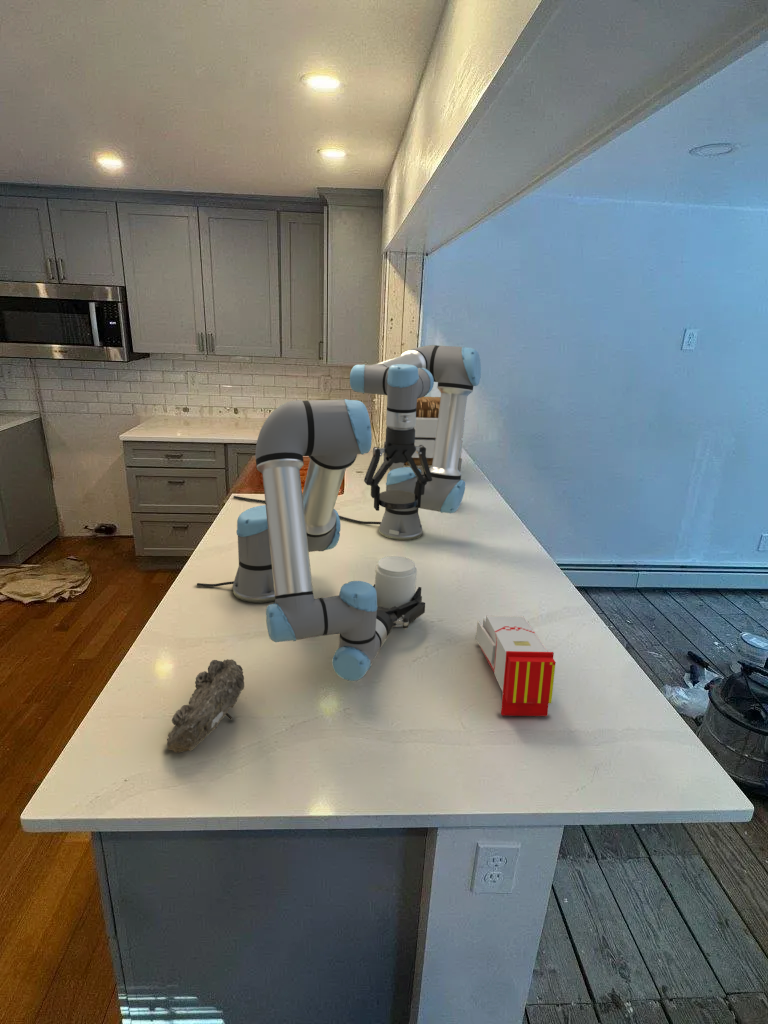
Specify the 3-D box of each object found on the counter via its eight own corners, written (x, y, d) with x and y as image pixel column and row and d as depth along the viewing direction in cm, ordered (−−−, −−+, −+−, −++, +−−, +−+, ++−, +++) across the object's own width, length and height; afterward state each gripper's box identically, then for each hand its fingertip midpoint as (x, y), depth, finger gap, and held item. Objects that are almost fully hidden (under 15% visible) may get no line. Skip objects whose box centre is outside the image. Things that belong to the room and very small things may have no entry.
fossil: (192, 660, 117) (244, 628, 112) (224, 691, 120) (276, 661, 115) (142, 746, 98) (202, 712, 93) (182, 779, 101) (242, 748, 96)
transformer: (382, 463, 289) (386, 382, 275) (445, 464, 293) (451, 384, 279) (390, 482, 257) (394, 392, 243) (460, 483, 261) (468, 394, 247)
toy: (522, 601, 137) (564, 658, 107) (517, 652, 139) (557, 722, 110) (472, 600, 136) (500, 657, 107) (468, 651, 139) (495, 721, 110)
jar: (397, 602, 153) (400, 551, 148) (421, 619, 145) (425, 566, 140) (365, 613, 147) (367, 560, 142) (389, 631, 140) (392, 576, 134)
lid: (392, 512, 145) (392, 506, 145) (369, 499, 154) (369, 494, 153) (426, 505, 151) (426, 499, 150) (402, 493, 159) (402, 487, 159)
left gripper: (325, 634, 132) (357, 592, 152) (419, 655, 126) (441, 608, 146) (325, 606, 130) (358, 567, 150) (422, 625, 124) (443, 582, 144)
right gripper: (360, 431, 138) (358, 515, 146) (448, 429, 145) (442, 509, 153) (352, 425, 145) (351, 505, 153) (437, 422, 151) (432, 499, 159)
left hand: (399, 587), depth 148 cm, fingers closed on jar, 10 cm apart
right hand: (397, 507), depth 153 cm, fingers closed on lid, 11 cm apart
